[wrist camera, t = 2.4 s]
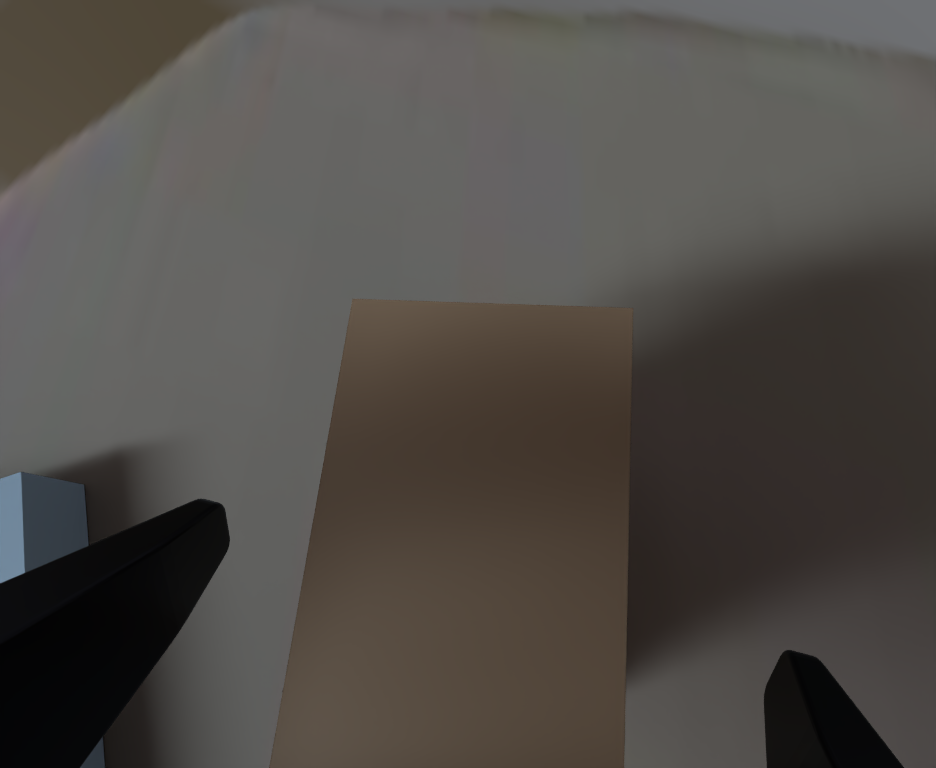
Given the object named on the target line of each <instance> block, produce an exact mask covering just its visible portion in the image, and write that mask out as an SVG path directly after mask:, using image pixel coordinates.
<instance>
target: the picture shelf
mask: <svg viewBox="0 0 936 768" xmlns="http://www.w3.org/2000/svg"><path fill="white" fill-rule="evenodd" d="M86 546H89V544H88V531H87V517H86V504H85V490H84V484H79V483H74V482H69V481H64V480H59V479H54V478H49V477H44V476H39V475H34V474H29V473H24V472H19V473H16V474H13V475H10V476H8V477H5V478H2V479H0V583H2V582H4V581H7V580H9V579H11V578H14V577H16V576H18V575H21V574H23V573H25V572H28V571H30V570H32V569H35V568H37V567H39V566H42V565H44V564H47V563H49V562H51V561H54V560H56V559H58V558H61V557H63V556H65V555H68V554H70V553H72V552H75V551H77V550H79V549H82V548H84V547H86ZM80 768H105V762H104V748H103V737H102V739H101V740H100V741H99V743H98V744H97V745H96V747H95V748H94V749H93V751H92V752H91V754H90V755H89V756H88V758H87V759H86V760H85V762H84V763H83V765H82V766H81V767H80Z"/></svg>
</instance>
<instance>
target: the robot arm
mask: <svg viewBox="0 0 936 768" xmlns="http://www.w3.org/2000/svg"><path fill="white" fill-rule="evenodd" d="M229 542H230V536H229V530H228V524H227V518H226V512H225V508H224V507H223V505H222V504H220V503H218V502H214V501H210V500H206V499H197V500H194V501H192V502H189V503H187V504H185V505H182V506H180V507H178V508H175V509H173V510H171V511H168V512H166V513H164V514H161V515H159V516H157V517H154V518H152V519H150V520H147V521H145V522H143V523H140V524H138V525H136V526H133V527H131V528H128V529H126V530H124V531H121V532H119V533H117V534H114V535H112V536H110V537H107V538H105V539H103V540H100V541H98V542H96V543H93V544H91V545H89V546H86V547H84V548H82V549H79V550H77V551H75V552H72V553H70V554H68V555H65V556H63V557H61V558H58V559H56V560H54V561H51V562H49V563H47V564H44V565H42V566H39V567H37V568H35V569H32V570H30V571H28V572H25V573H23V574H21V575H18V576H16V577H14V578H11V579H9V580H7V581H4V582H2V583H0V768H80V767H81V766H82V765H83V763H84V762H85V760H86V759H87V758H88V756H89V755H90V754H91V752H92V751H93V749H94V748H95V747H96V745H97V744H98V743H99V741H100V740H101V739H102V737H103V736H104V734H105V733H106V732H107V730H108V729H109V728H110V726H111V725H112V723H113V722H114V721H115V719H116V718H117V717H118V715H119V714H120V713H121V711H122V710H123V708H124V707H125V706H126V704H127V703H128V702H129V700H130V699H131V697H132V696H133V695H134V693H135V692H136V691H137V689H138V688H139V687H140V685H141V684H142V682H143V681H144V680H145V678H146V677H147V676H148V674H149V673H150V671H151V670H152V669H153V667H154V666H155V665H156V663H157V662H158V661H159V659H160V658H161V656H162V655H163V654H164V652H165V651H166V650H167V648H168V647H169V645H170V644H171V643H172V641H173V640H174V638H175V637H176V635H177V634H178V633H179V631H180V630H181V628H182V626H183V625H184V623H185V622H186V620H187V619H188V617H189V615H190V613H191V612H192V610H193V608H194V607H195V605H196V603H197V602H198V600H199V598H200V597H201V595H202V593H203V592H204V590H205V588H206V587H207V585H208V583H209V581H210V580H211V578H212V576H213V575H214V573H215V571H216V570H217V568H218V566H219V565H220V563H221V561H222V560H223V558H224V556H225V554H226V552H227V550H228V547H229ZM764 715H765V737H766V758H767V768H904V767H903V766H902V764H901V763H900V762H899V760H898V759H897V758H896V757H895V755H894V754H893V753H892V751H891V750H890V749H889V748H888V746H887V745H886V744H885V742H884V741H883V740H882V739H881V737H880V736H879V735H878V734H877V732H876V731H875V730H874V728H873V727H872V726H871V725H870V723H869V722H868V721H867V719H866V718H865V717H864V716H863V714H862V713H861V712H860V710H859V709H858V708H857V707H856V705H855V704H854V703H853V701H852V700H851V699H850V698H849V696H848V695H847V694H846V692H845V691H844V690H843V689H842V687H841V686H840V685H839V684H838V682H837V681H836V680H835V678H834V677H833V676H832V675H831V673H830V672H829V671H828V669H827V668H826V667H825V666H824V664H823V663H822V662H821V661H820V660H819V659H818V658H816V657H814V656H811V655H808V654H804V653H800V652H796V651H792V650H786V651H784V652H783V653H782V655H781V656H780V658H779V660H778V662H777V664H776V666H775V668H774V670H773V672H772V674H771V676H770V678H769V680H768V682H767V685H766V688H765V693H764Z"/></svg>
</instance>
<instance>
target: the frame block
mask: <svg viewBox="0 0 936 768" xmlns="http://www.w3.org/2000/svg"><path fill="white" fill-rule="evenodd" d="M632 340H633V308H613V307H583V306H553V305H523V304H493V303H462V302H432V301H402V300H372V299H352V305H351V311H350V316H349V322H348V327H347V333H346V339H345V344H344V350H343V356H342V361H341V367H340V372H339V378H338V384H337V389H336V395H335V401H334V406H333V412H332V418H331V423H330V429H329V434H328V440H327V446H326V451H325V457H324V463H323V468H322V474H321V479H320V485H319V491H318V496H317V502H316V508H315V513H314V519H313V525H312V530H311V536H310V541H309V547H308V553H307V558H306V564H305V570H304V575H303V581H302V586H301V592H300V598H299V603H298V609H297V615H296V620H295V626H294V631H293V637H292V643H291V648H290V654H289V660H288V665H287V671H286V677H285V682H284V688H283V693H282V699H281V705H280V710H279V716H278V722H277V727H276V733H275V738H274V744H273V750H272V755H271V761H270V767H269V768H624V744H625V694H626V643H627V593H628V542H629V492H630V441H631V391H632Z"/></svg>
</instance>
